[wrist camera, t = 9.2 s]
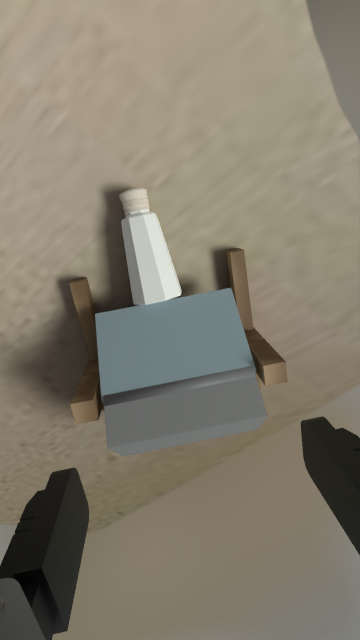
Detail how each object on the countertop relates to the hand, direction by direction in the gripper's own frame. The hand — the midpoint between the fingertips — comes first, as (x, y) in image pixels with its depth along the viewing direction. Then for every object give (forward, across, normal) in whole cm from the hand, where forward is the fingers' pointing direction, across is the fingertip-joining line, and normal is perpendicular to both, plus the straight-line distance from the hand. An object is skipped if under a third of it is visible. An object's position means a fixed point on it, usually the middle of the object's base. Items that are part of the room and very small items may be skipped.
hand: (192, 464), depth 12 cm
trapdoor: (+24, 0, +9) cm, 25 cm away
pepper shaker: (+25, 0, 0) cm, 25 cm away
